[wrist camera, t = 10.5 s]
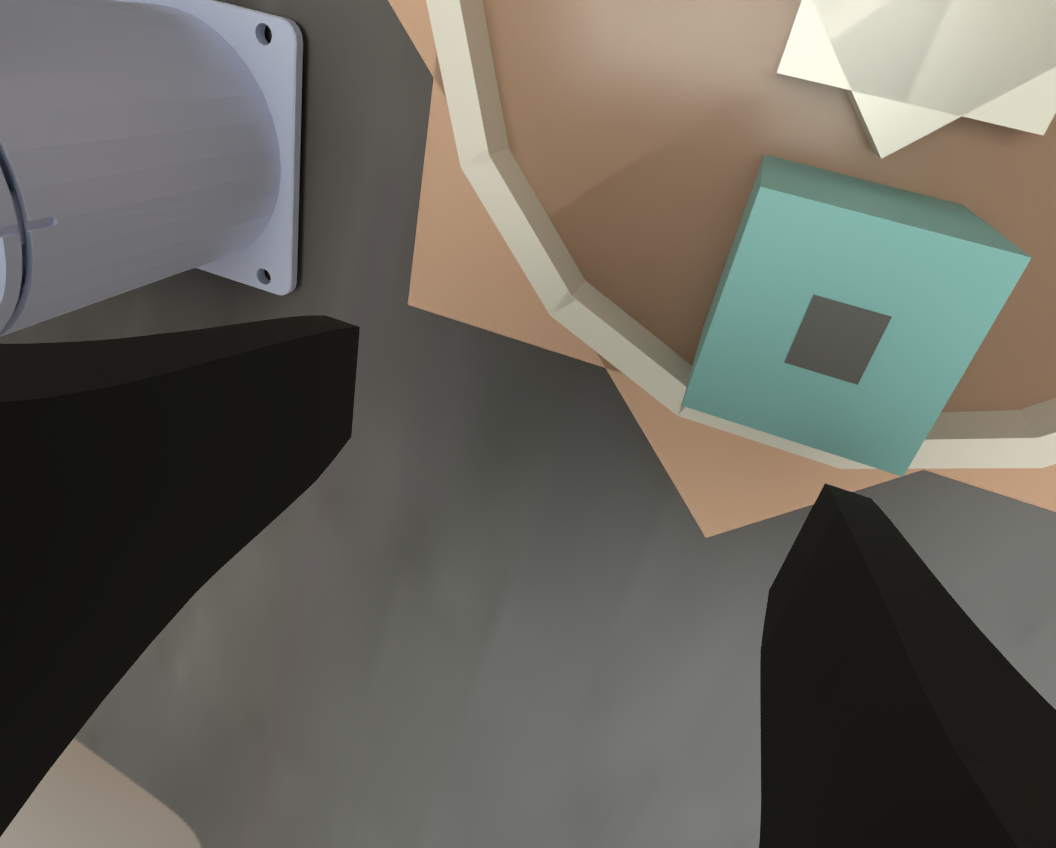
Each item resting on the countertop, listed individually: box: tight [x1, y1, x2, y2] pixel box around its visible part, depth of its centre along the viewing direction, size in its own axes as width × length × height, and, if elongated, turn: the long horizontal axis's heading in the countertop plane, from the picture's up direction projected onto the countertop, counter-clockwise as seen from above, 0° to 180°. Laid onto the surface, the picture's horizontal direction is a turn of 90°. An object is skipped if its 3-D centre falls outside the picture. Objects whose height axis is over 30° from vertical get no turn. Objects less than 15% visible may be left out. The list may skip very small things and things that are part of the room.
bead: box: [682, 154, 1031, 477], centre depth 15 cm, size 4×4×5 cm
